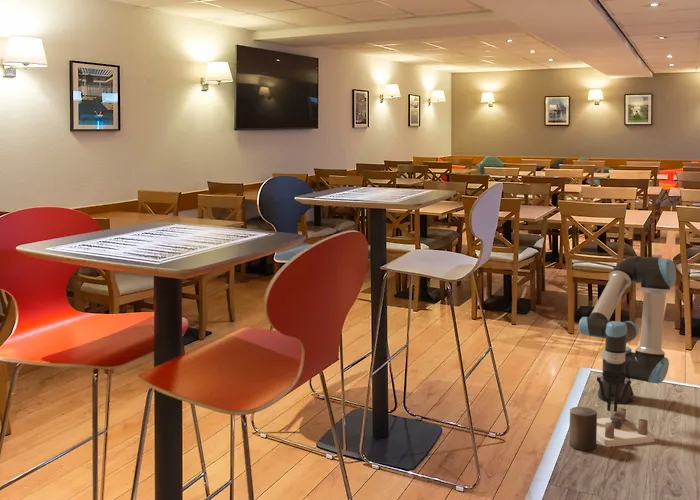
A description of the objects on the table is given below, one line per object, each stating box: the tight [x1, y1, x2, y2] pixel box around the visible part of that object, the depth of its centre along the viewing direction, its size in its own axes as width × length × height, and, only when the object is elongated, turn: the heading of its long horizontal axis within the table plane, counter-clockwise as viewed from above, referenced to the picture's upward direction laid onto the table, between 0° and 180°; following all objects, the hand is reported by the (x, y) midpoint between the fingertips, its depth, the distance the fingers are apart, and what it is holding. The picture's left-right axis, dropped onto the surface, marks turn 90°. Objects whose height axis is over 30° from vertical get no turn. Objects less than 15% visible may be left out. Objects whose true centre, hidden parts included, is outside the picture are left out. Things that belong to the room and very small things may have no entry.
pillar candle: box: [568, 406, 598, 452], centre depth 247 cm, size 10×10×15 cm
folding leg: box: [611, 407, 627, 429], centre depth 261 cm, size 13×4×4 cm, turn 148°
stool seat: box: [596, 417, 656, 448], centre depth 257 cm, size 20×20×8 cm
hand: (611, 418), depth 260 cm, fingers closed
